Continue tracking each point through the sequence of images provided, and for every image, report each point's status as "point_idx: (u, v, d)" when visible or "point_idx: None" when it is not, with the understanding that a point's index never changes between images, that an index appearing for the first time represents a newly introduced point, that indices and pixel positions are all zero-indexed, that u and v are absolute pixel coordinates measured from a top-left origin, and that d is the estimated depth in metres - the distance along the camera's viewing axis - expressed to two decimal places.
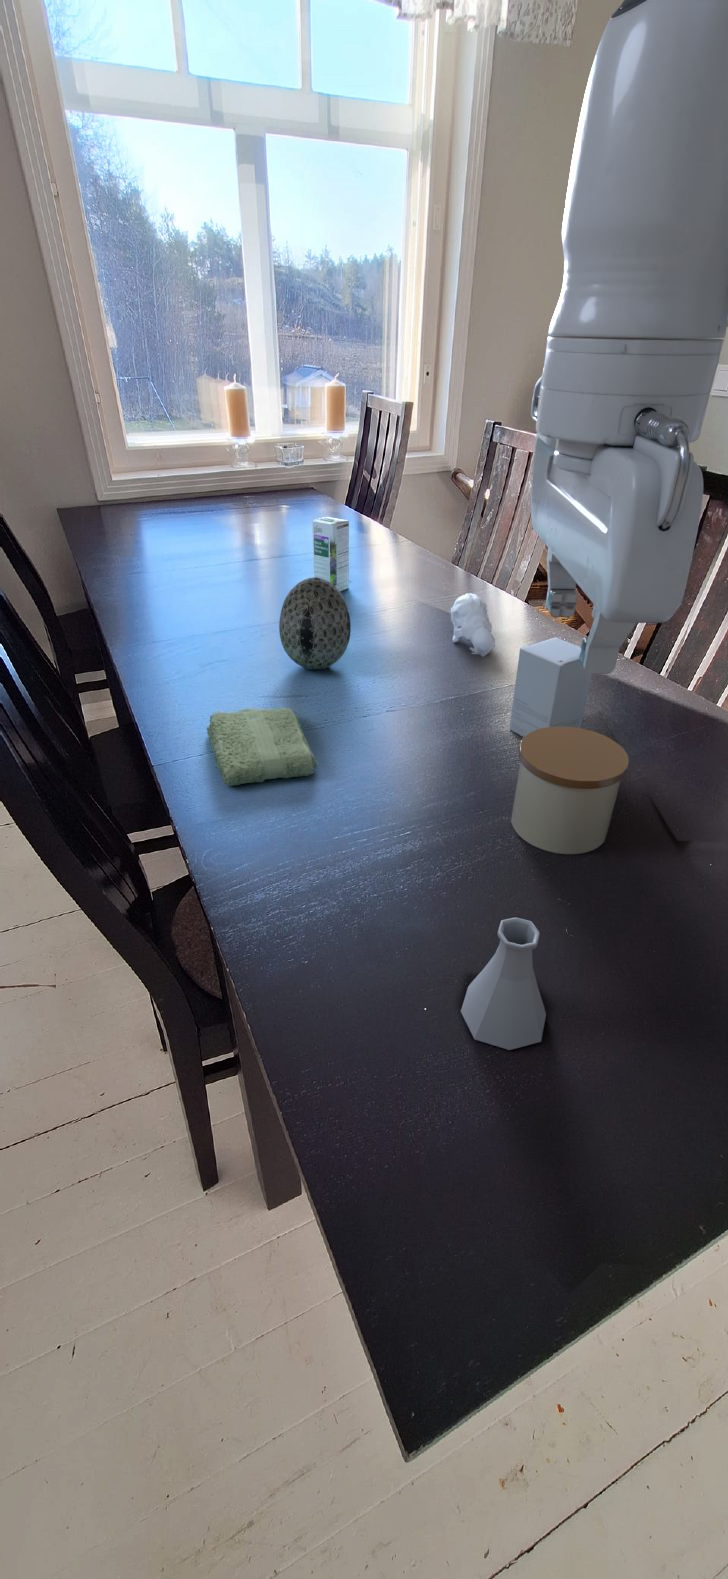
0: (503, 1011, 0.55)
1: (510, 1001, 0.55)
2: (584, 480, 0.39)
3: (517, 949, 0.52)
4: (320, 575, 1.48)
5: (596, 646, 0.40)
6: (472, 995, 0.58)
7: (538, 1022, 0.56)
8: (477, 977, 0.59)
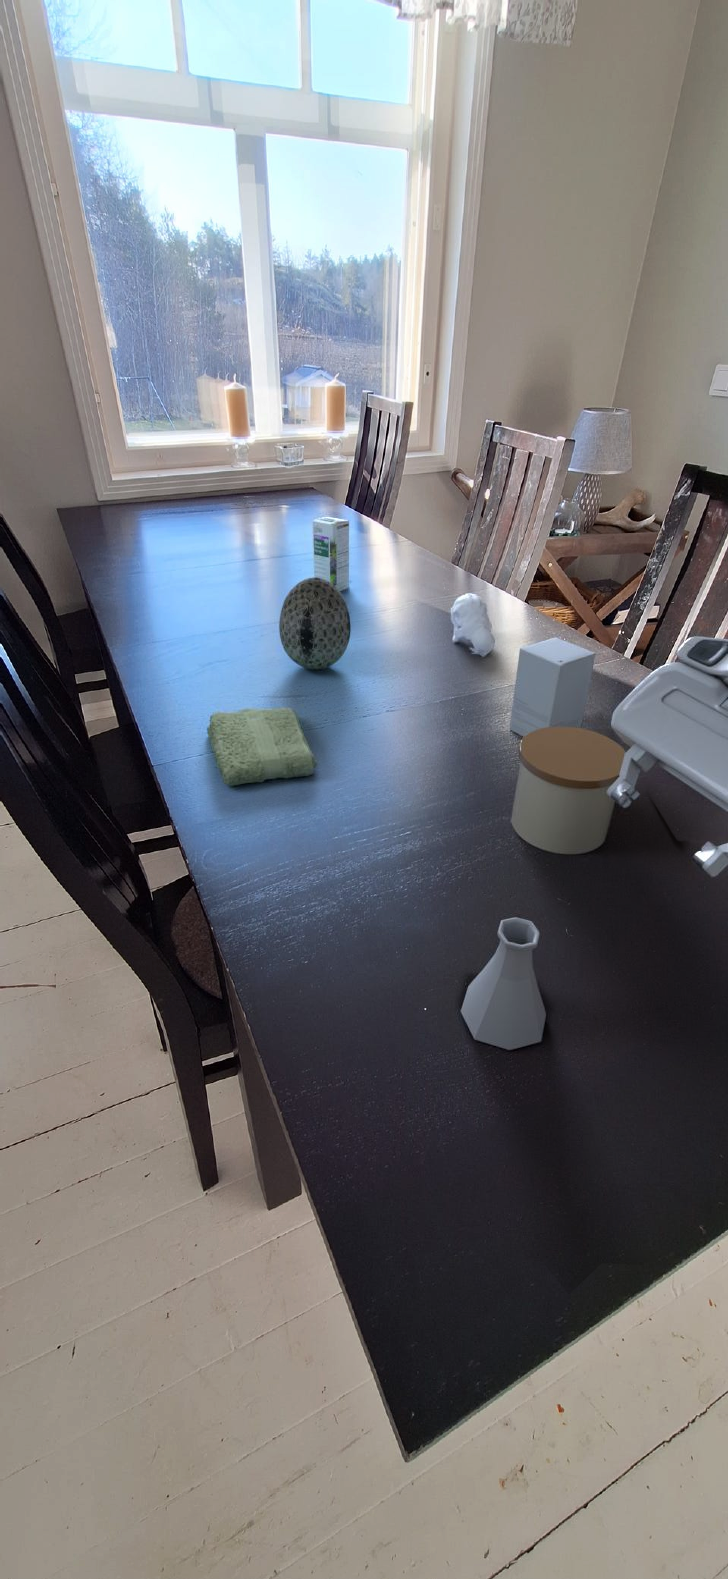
0: (503, 1011, 0.55)
1: (510, 1001, 0.55)
2: None
3: (517, 949, 0.52)
4: (320, 575, 1.48)
5: (727, 854, 0.50)
6: (472, 995, 0.58)
7: (538, 1022, 0.56)
8: (477, 977, 0.59)
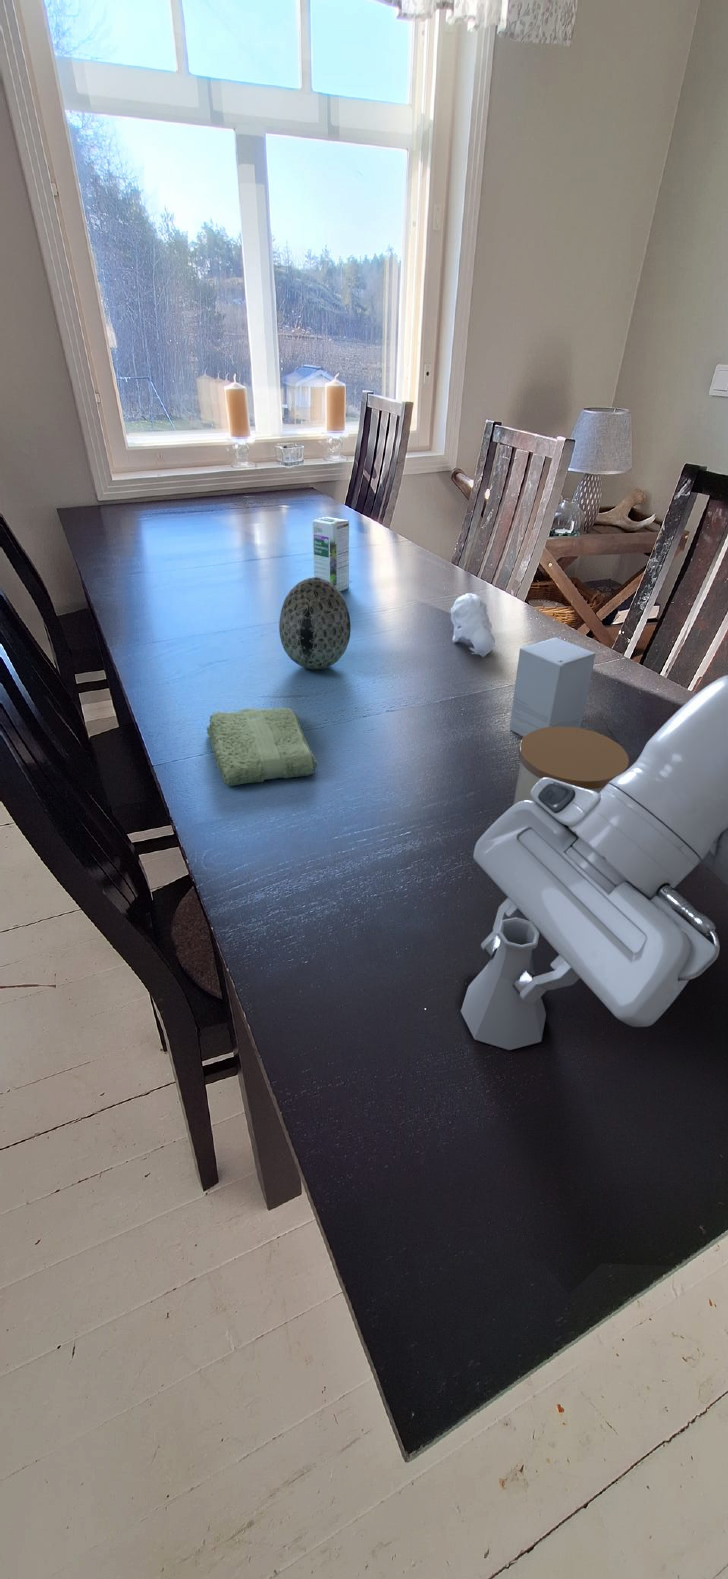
0: (503, 1011, 0.55)
1: (510, 1001, 0.55)
2: (590, 886, 0.53)
3: (517, 949, 0.52)
4: (320, 575, 1.48)
5: (540, 986, 0.53)
6: (472, 995, 0.58)
7: (538, 1022, 0.56)
8: (477, 977, 0.59)
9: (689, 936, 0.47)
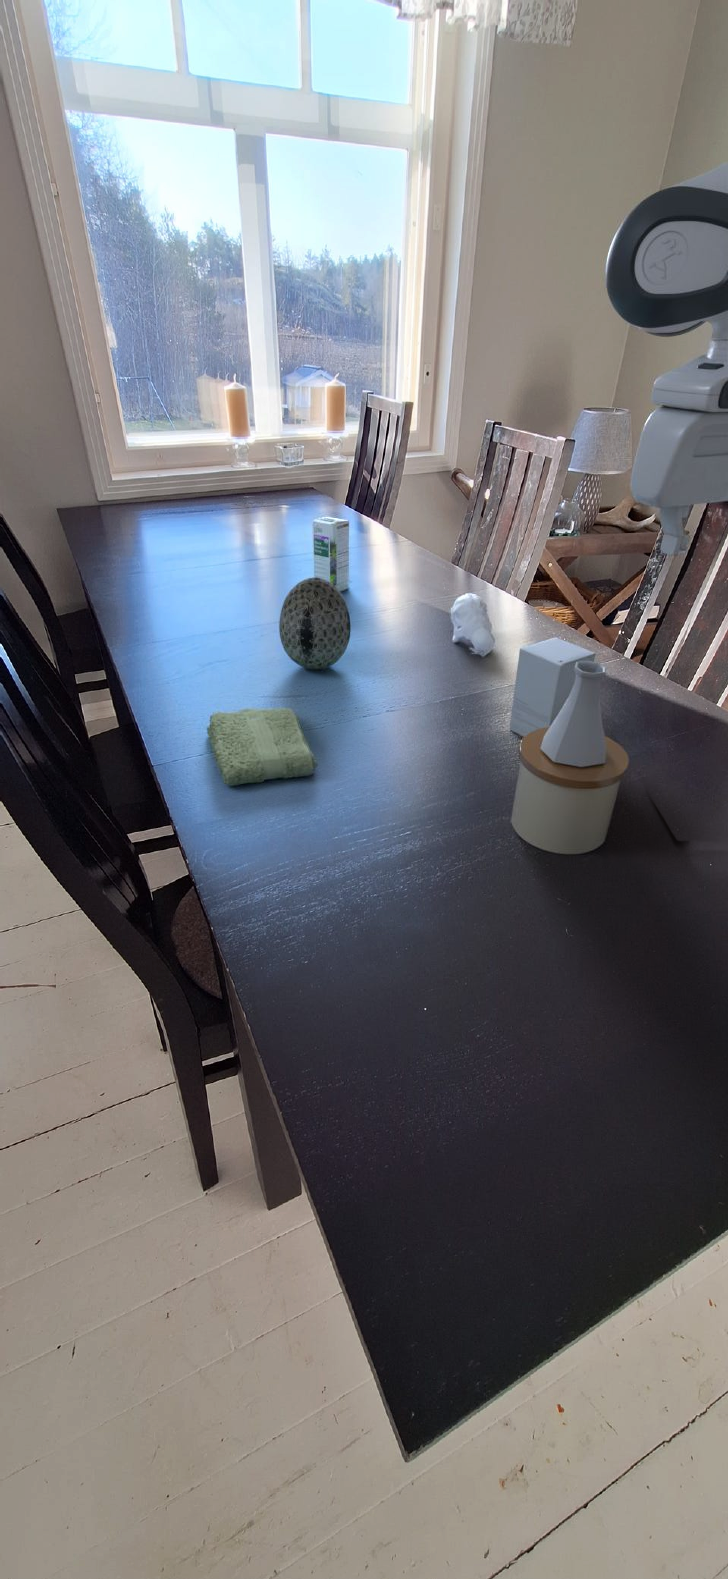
0: (577, 735, 0.72)
1: (583, 725, 0.72)
2: None
3: (591, 676, 0.69)
4: (320, 575, 1.48)
5: None
6: (550, 731, 0.74)
7: (603, 746, 0.73)
8: (553, 722, 0.76)
9: None
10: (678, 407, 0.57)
